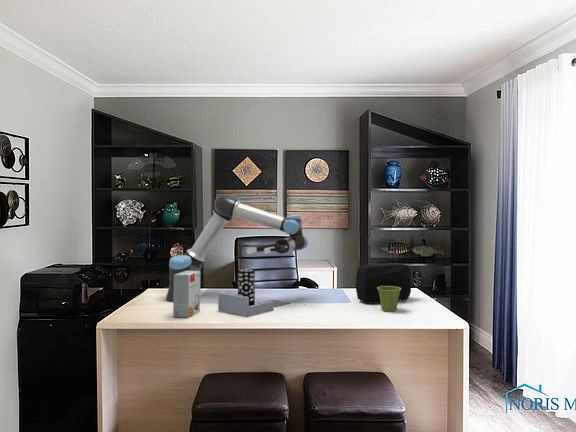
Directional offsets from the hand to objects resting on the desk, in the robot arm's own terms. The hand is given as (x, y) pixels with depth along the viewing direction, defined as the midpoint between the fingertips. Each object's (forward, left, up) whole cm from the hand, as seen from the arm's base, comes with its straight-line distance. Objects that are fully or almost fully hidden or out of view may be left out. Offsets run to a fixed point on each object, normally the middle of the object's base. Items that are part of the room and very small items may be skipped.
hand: (255, 251), depth 259 cm
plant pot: (+56, +37, -29) cm, 73 cm away
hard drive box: (-14, -33, -29) cm, 46 cm away
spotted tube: (+2, -9, -29) cm, 30 cm away
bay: (+2, -9, -28) cm, 30 cm away
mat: (+2, +11, -28) cm, 31 cm away
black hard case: (+44, +55, -29) cm, 76 cm away
